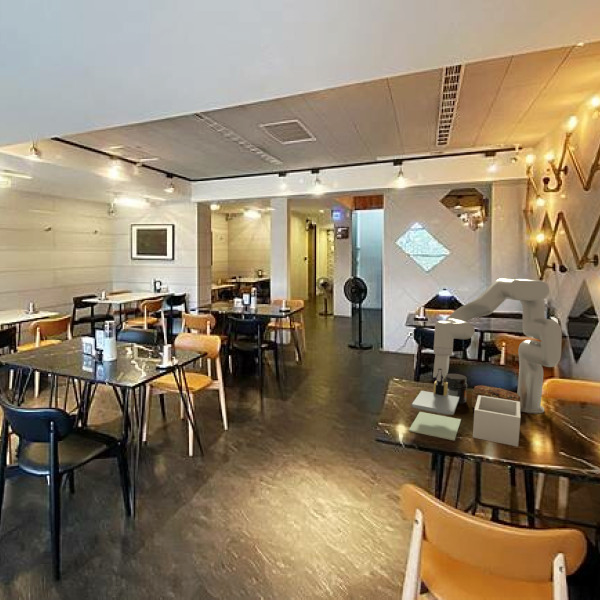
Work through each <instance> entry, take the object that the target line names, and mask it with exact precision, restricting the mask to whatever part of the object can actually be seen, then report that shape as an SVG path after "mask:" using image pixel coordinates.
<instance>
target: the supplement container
mask: <svg viewBox="0 0 600 600" xmlns="http://www.w3.org/2000/svg"><path fill="white" fill-rule="evenodd" d="M446 382H448V388H447V394H446V395H450V396H456V397H459V402H458V404H457V405H462V404H465V403H466V402H467V390H468V389H467V388H468V384H467V377H466V376H465V375H463V374H460V373H459V374H458V373H448V374H447V376H446Z"/></svg>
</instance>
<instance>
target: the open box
mask: <svg viewBox="0 0 600 600" xmlns="http://www.w3.org/2000/svg"><path fill="white" fill-rule="evenodd" d="M520 427H521V411H520V402H519V401H512V400H506V399H500V398H493V397H487V396H481V395H478V398H477V402H476V406H475V408H474V412H473V427H472V438H473V439H480V440H484V441H489V442H494V443H499V444H503V445H509V446H513V447H519V442H520V430H521V429H520Z"/></svg>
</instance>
